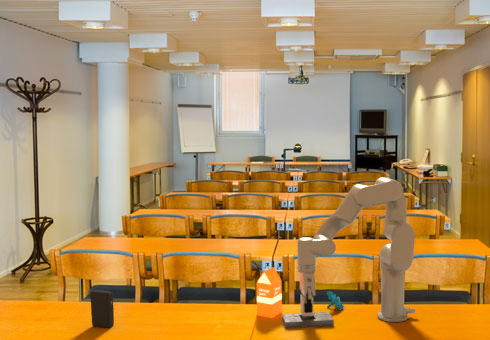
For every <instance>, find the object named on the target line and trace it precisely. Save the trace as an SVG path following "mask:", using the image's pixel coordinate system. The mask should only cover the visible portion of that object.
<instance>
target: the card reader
mask: <svg viewBox="0 0 490 340" xmlns="http://www.w3.org/2000/svg"><path fill="white" fill-rule="evenodd" d="M114 310H115V309H114V293H113V291H109V290H99V289H95V290H94V289H93V290H91V291H90V314H91V325H92V326H93V327H96V326H98V327H99V328H105V327H108V328H112V327H114V325H115V323H114V322H115V321H114V320H115V316H114V314H115V313H114Z"/></svg>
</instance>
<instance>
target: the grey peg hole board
mask: <svg viewBox="0 0 490 340" xmlns="http://www.w3.org/2000/svg"><path fill="white" fill-rule="evenodd" d="M281 321H282V323H283V325H284V328H285V329H297V328H298V329H299V328H317V327H334V326H335V325H334V322H335V321H334V319H333V317H332V315H331V314H330V313H329V312H328V311H323V312H319V311H318V312H313V316H302V314H301V312H299V313H284V314H283V313H282V314H281Z"/></svg>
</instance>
